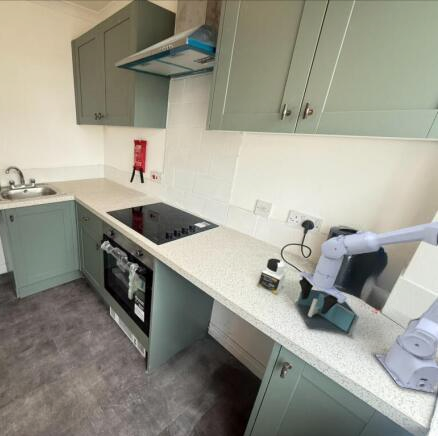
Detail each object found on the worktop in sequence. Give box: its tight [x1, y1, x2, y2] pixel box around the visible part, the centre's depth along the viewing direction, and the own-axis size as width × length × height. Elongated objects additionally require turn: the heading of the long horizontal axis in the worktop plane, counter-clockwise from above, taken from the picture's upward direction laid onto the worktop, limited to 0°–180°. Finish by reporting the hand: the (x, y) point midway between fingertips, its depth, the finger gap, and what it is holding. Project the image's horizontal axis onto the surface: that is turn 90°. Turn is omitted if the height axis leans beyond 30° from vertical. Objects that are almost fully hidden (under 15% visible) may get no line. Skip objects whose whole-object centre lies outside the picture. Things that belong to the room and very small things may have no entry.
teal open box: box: [295, 288, 360, 337], centre depth 83 cm, size 12×12×8 cm
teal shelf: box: [308, 294, 356, 332], centre depth 81 cm, size 5×10×7 cm, turn 27°
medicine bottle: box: [258, 258, 287, 294], centre depth 99 cm, size 7×7×12 cm
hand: (313, 305), depth 84 cm, fingers open, 7 cm apart
